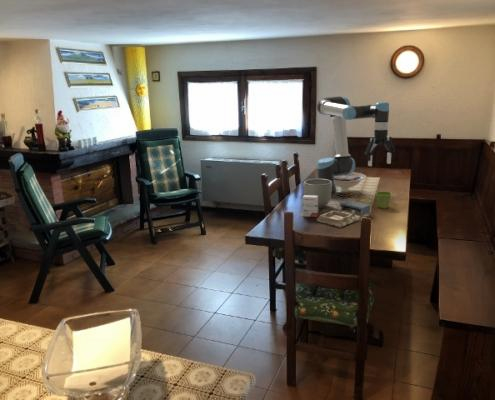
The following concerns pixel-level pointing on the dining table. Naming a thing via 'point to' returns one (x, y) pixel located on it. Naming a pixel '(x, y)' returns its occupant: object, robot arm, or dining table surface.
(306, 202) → the ink box
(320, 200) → the planter
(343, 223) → the cradle
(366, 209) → the block
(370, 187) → the dining table surface
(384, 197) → the plant pot
